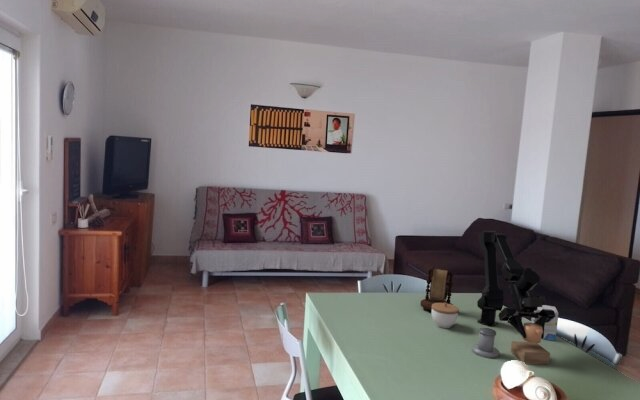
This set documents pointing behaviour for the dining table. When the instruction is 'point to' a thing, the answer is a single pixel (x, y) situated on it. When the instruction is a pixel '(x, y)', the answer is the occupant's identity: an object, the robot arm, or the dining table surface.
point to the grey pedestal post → (486, 344)
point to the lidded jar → (444, 314)
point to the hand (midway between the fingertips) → (533, 338)
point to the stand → (530, 352)
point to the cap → (533, 332)
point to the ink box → (549, 323)
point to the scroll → (437, 288)
